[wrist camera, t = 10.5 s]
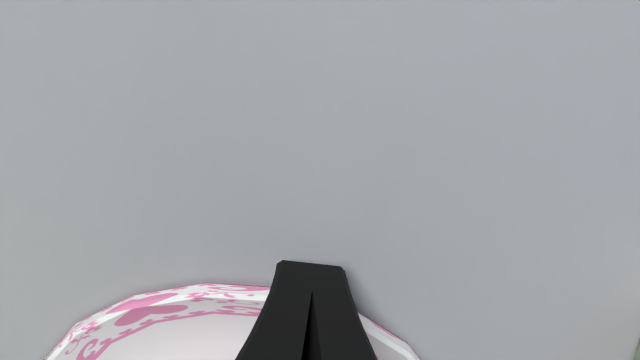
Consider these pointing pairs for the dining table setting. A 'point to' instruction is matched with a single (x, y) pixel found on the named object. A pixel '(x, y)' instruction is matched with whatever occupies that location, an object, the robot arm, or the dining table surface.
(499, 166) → the dining table surface
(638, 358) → the sage block
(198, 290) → the teacup
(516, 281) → the dining table surface
